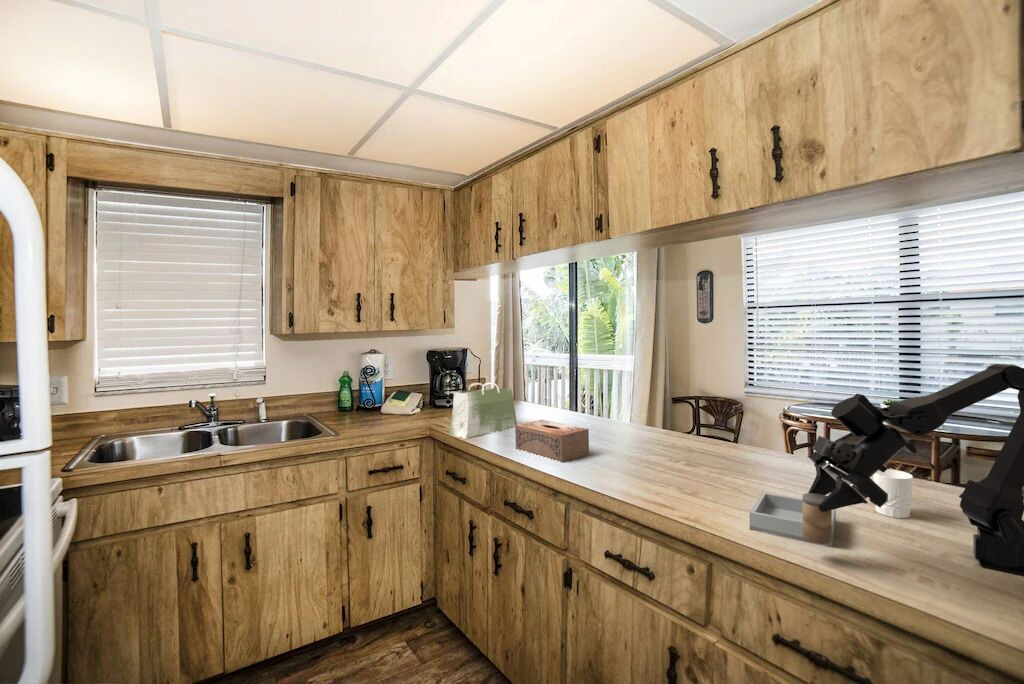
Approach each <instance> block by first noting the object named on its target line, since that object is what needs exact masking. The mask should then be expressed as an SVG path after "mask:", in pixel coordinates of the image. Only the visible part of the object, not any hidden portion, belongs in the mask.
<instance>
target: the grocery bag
mask: <svg viewBox="0 0 1024 684" xmlns="http://www.w3.org/2000/svg"><path fill="white" fill-rule="evenodd" d="M475 385H477V386H478V385H479V386H481V389H472V390H471V388H472V387H473V386H475ZM488 385H493V386H495V387H494V388H485V387H486V386H488ZM514 400H515V399H514V395H513V391H512V387H506V388H505V387H504V388H499V386H498V385H497V383H495V382H485V383H484V384H483V383H482V382H472V383H471V384H470V385H469V386H468V389H466V390H465V389H464V390H461V391H455V392H453V403H452V404H453V405H452V412H451V419H450V425H449V431H448V436H452V437H456V438H460V437H462V439H465V438H466V439H465V440H468V438H469V439H471V438H470V437H472V438H475V437H478V436H477V435H479V436H482V435H481V434H484V435H487V434H486V433H489V434H491V433H490V432H494V433H497V432H496V431H499V432H502V431H501V430H503V431H507V430H506V429H508V430H510V429H509V428H511V429H514V428H513V427H515V425H517V424H518V421H517V413H516V406H515V401H514ZM474 436H475V437H474Z"/></svg>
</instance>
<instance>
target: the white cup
mask: <svg viewBox="0 0 1024 684" xmlns="http://www.w3.org/2000/svg"><path fill="white" fill-rule="evenodd" d="M872 480H873V481H874V482H875V483H876V484H877V485H878V486H879V487H880V488H882V489H883V490H884V491H885V492H886V493H887V494H888V501H887V502H886V503H885V504H884V505H883V506H882V507H878V506H876V505H875V504H874V505H875V507H874V508H875V512H877V513H878V514H880V515H883V516H886V517H890V518H893V519H907V518H910V517H911V516H910V515H911V505H912V498H913V485H914V483H913V481H914V475H912V474H910V472H909V473H908V472H906V471H902V470H897V469H890V468H887V470H886V471H885V472H884V473H883V472H881V471H879V470H878V471H877V472H876V473H875V474H874V475H872Z"/></svg>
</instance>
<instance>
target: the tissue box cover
mask: <svg viewBox="0 0 1024 684" xmlns="http://www.w3.org/2000/svg"><path fill="white" fill-rule="evenodd" d="M589 430H590V429H589V428H585V427H581V426H577V425H572V424H571V425H570V424H567V423H561V422H555V421H551V420H546V419H538V420H533V421H529V422H528V421H526V422H523V423H522V422H521V423H517V425H515V428H514V433H515V434H514V435H515V450H517V449H519V450H518V451H521V450H523V451H522V452H524V451H527V452H530V453H529V454H531V453H533V454H532V455H534V454H536V455H535V456H538V455H540V456H539V457H541V456H543V457H542V458H545V457H547V458H546V459H548V458H550V459H549V460H552V459H553V460H552V461H555V460H557V461H556V462H559V461H560V462H559V463H565V462H564V461H566V462H568V461H567V460H569V461H571V460H570V459H572V460H575V459H574V458H576V459H578V458H577V457H579V458H582V457H581V456H583V457H585V456H584V455H586V456H589V455H590V437H589V436H590V434H589V432H590V431H589ZM527 452H526V453H527ZM588 454H589V455H588Z"/></svg>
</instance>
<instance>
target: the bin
mask: <svg viewBox="0 0 1024 684" xmlns="http://www.w3.org/2000/svg"><path fill="white" fill-rule="evenodd" d="M748 513H749V530H752V531H756V532H760V533H766V534H771V535H775V536H780V537H782V538H783V537H784V538H789V539H793V540H798V541H803V542H806V543H811V544H812V543H813V544H817V545H821V546H825V547H831V548H832V545H833V539H834V536H835V535H834V533H835V529H836V524H837V509H833V510H832V542H831V543H828V544H819V543H814V542H811V541H808V540H806V539H805V538H804V537H803V498H800V497H799V498H798V497H793V496H788V495H782V494H781V495H780V494H777V493H776V494H775V493H770V492H763V491H762V492H761V493H760V495H759V496H758V498H757V499H756V500H755V503H754V504H753V506H752V508H751V509H750V511H749V512H748Z"/></svg>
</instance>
